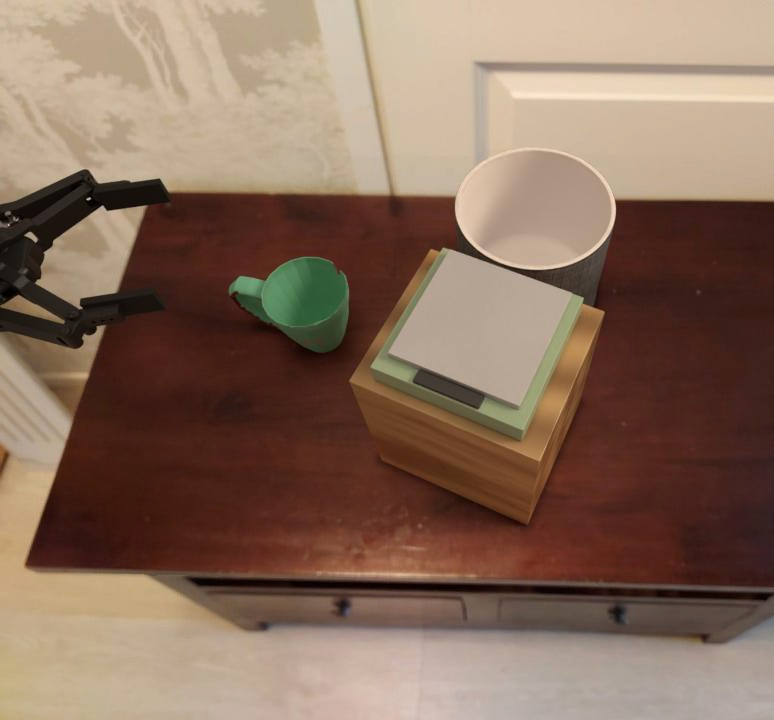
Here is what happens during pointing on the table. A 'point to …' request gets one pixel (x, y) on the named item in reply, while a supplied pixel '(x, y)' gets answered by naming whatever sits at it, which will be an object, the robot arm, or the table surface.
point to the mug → (299, 301)
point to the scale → (479, 342)
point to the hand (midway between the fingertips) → (163, 241)
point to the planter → (538, 217)
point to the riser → (475, 424)
